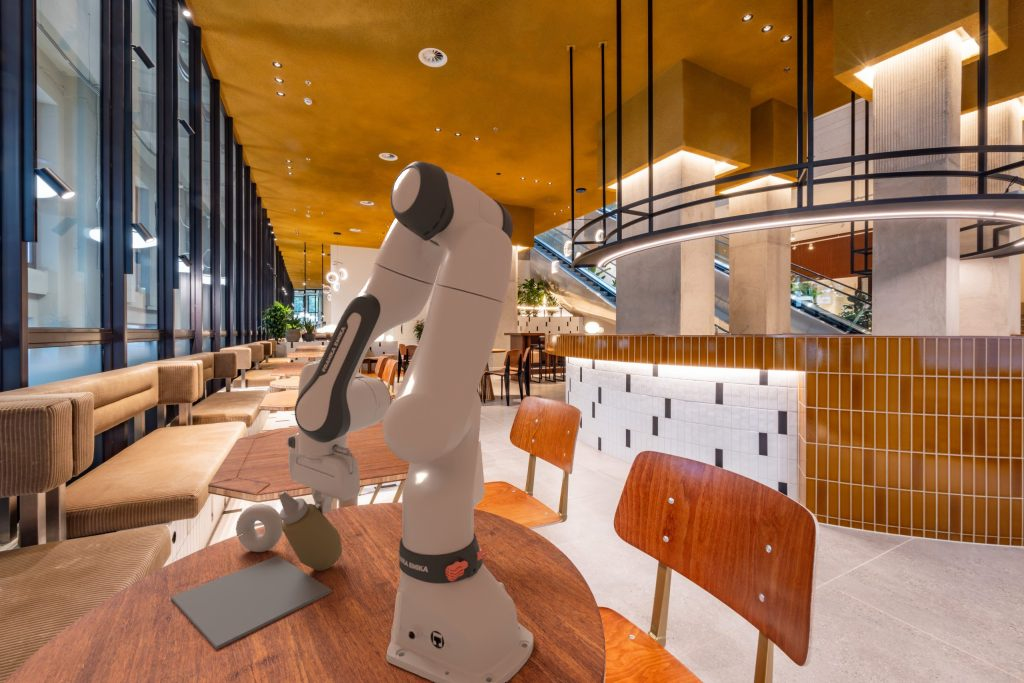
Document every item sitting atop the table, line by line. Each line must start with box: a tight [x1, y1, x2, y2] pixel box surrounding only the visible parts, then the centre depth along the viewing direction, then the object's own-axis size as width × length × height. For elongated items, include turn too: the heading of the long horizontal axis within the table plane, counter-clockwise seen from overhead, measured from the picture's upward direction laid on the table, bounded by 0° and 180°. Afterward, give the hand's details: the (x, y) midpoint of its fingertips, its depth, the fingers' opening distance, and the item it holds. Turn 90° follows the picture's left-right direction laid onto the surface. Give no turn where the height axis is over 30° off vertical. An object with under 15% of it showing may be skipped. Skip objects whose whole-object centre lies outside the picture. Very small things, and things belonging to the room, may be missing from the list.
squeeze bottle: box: [278, 490, 343, 572], centre depth 84 cm, size 8×8×18 cm
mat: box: [170, 555, 333, 650], centre depth 77 cm, size 20×18×1 cm
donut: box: [235, 503, 284, 553], centre depth 93 cm, size 10×4×10 cm, turn 83°
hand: (323, 511), depth 86 cm, fingers closed
